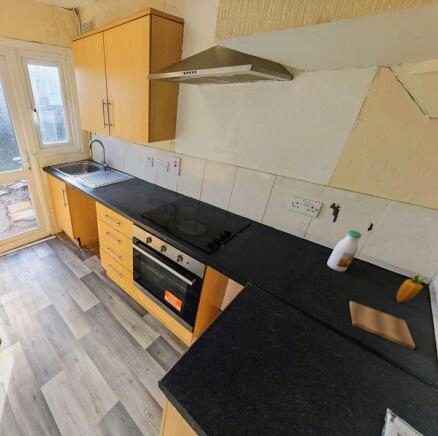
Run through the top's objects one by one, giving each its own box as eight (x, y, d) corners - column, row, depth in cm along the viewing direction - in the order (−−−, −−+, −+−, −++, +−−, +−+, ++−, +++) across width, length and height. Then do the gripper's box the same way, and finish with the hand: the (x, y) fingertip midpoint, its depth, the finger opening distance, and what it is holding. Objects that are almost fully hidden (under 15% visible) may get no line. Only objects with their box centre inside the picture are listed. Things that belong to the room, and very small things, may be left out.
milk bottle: (326, 267, 111) (345, 233, 101) (326, 259, 116) (344, 226, 107) (346, 274, 107) (367, 239, 97) (345, 265, 113) (365, 231, 103)
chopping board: (402, 323, 84) (404, 320, 84) (412, 349, 75) (415, 346, 75) (349, 303, 92) (350, 300, 91) (352, 325, 83) (354, 322, 82)
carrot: (406, 302, 93) (429, 275, 86) (407, 309, 90) (431, 282, 83) (390, 295, 96) (411, 268, 89) (390, 302, 93) (412, 275, 85)
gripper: (391, 197, 111) (381, 236, 107) (329, 185, 123) (318, 220, 119) (400, 190, 104) (390, 231, 101) (334, 178, 116) (323, 215, 112)
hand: (351, 225), depth 110 cm, fingers open, 13 cm apart
